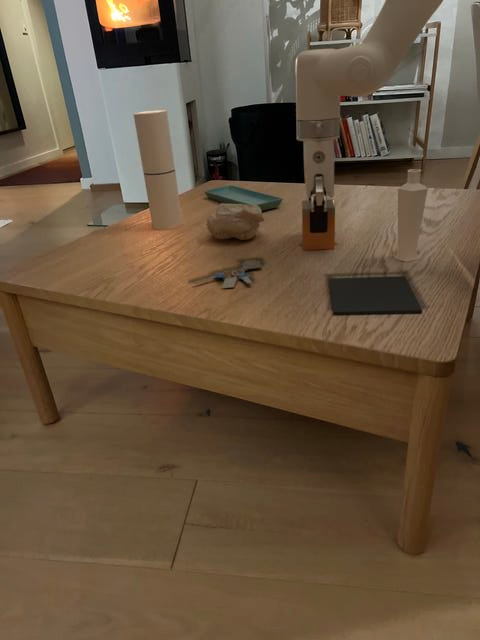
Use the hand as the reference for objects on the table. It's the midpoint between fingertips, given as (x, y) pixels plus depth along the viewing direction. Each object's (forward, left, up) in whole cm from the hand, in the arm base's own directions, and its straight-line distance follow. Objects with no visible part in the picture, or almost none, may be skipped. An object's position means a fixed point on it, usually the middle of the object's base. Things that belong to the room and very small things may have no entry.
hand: (317, 224), depth 91 cm
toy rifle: (+14, +16, -4) cm, 22 cm away
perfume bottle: (-15, +9, -4) cm, 18 cm away
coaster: (-7, +24, -4) cm, 25 cm away
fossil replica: (+17, -6, -4) cm, 18 cm away
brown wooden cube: (0, 0, 0) cm, 0 cm away
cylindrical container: (+35, -18, -4) cm, 39 cm away
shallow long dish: (+19, -36, -4) cm, 41 cm away
